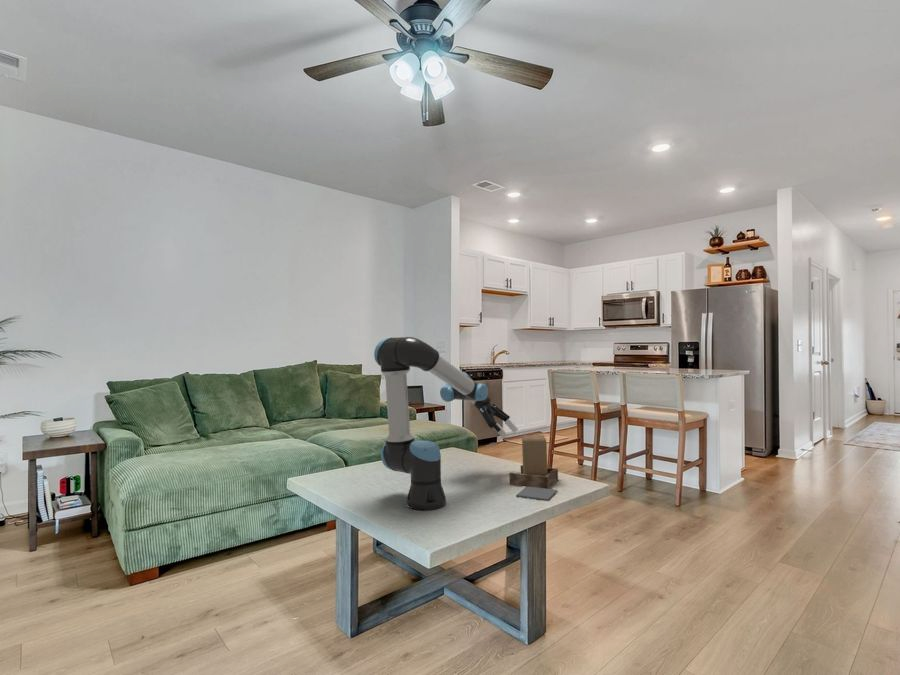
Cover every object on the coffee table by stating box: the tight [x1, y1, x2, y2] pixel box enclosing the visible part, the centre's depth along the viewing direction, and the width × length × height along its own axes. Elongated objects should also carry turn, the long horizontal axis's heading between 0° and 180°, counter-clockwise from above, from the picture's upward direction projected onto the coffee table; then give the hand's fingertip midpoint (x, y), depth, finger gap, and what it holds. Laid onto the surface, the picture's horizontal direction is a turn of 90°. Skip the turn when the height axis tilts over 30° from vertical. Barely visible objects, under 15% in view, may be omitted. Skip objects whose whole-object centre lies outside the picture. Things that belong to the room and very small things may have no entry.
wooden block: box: [521, 434, 548, 476], centre depth 208 cm, size 10×10×20 cm
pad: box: [515, 486, 558, 502], centre depth 191 cm, size 13×13×1 cm
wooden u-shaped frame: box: [508, 464, 559, 489], centre depth 208 cm, size 17×15×5 cm
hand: (511, 433), depth 213 cm, fingers open, 13 cm apart
